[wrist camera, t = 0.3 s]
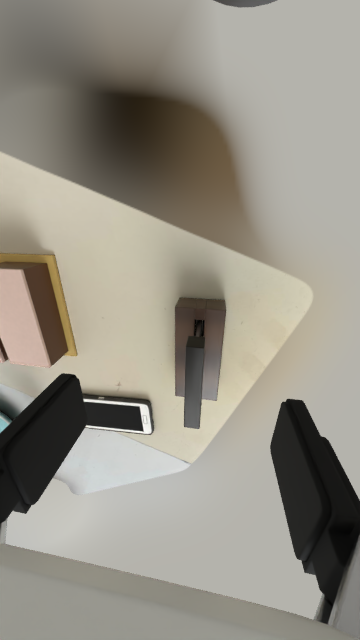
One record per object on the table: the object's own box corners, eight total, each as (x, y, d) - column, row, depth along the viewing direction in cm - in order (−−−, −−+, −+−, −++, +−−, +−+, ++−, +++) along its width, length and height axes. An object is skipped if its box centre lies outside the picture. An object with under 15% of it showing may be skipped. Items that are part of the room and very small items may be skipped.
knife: (194, 308, 29) (185, 346, 21) (208, 309, 29) (204, 348, 21) (192, 374, 34) (183, 427, 25) (203, 375, 34) (199, 429, 25)
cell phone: (154, 431, 41) (153, 435, 40) (82, 423, 43) (80, 427, 42) (150, 399, 38) (149, 404, 37) (73, 393, 40) (69, 397, 39)
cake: (-47, 251, 31) (-90, 257, 27) (54, 254, 29) (25, 261, 25) (-7, 346, 38) (-37, 363, 34) (77, 354, 36) (57, 374, 32)
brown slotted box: (179, 297, 29) (174, 306, 26) (225, 300, 28) (226, 310, 25) (179, 380, 35) (175, 396, 32) (216, 384, 34) (216, 401, 31)
